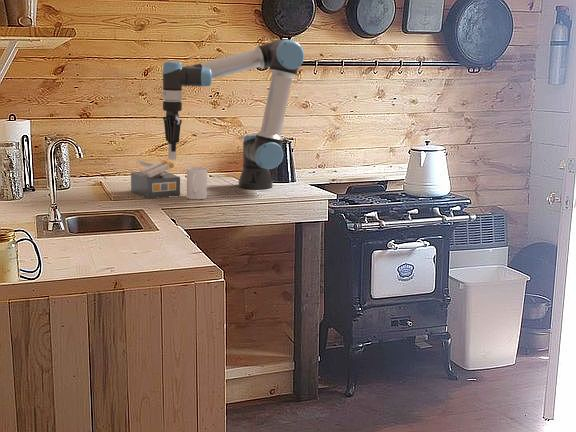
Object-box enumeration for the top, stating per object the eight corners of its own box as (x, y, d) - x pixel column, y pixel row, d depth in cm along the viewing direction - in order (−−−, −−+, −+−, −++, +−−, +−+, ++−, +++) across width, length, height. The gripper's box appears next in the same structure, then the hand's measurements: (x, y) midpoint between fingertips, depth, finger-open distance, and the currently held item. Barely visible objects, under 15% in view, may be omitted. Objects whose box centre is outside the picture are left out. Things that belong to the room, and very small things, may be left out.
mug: (201, 202, 303) (201, 172, 300) (180, 200, 305) (180, 170, 302) (209, 196, 314) (210, 167, 312) (189, 195, 316) (190, 166, 313)
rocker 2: (164, 163, 318) (163, 159, 317) (168, 164, 315) (166, 161, 314) (141, 173, 313) (140, 170, 312) (144, 175, 310) (143, 171, 310)
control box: (162, 188, 327) (162, 165, 325) (180, 196, 312) (180, 172, 310) (131, 191, 320) (130, 167, 318) (148, 199, 305) (148, 174, 303)
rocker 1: (159, 169, 323) (160, 165, 323) (162, 170, 321) (163, 167, 321) (136, 163, 317) (137, 159, 317) (139, 164, 314) (140, 160, 314)
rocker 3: (170, 165, 313) (169, 162, 312) (174, 166, 310) (172, 163, 309) (147, 176, 308) (146, 172, 307) (150, 177, 305) (149, 173, 305)
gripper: (157, 99, 309) (157, 157, 314) (170, 102, 298) (170, 162, 303) (174, 99, 313) (173, 156, 318) (187, 102, 302) (187, 161, 307)
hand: (172, 159), depth 311 cm, fingers closed
